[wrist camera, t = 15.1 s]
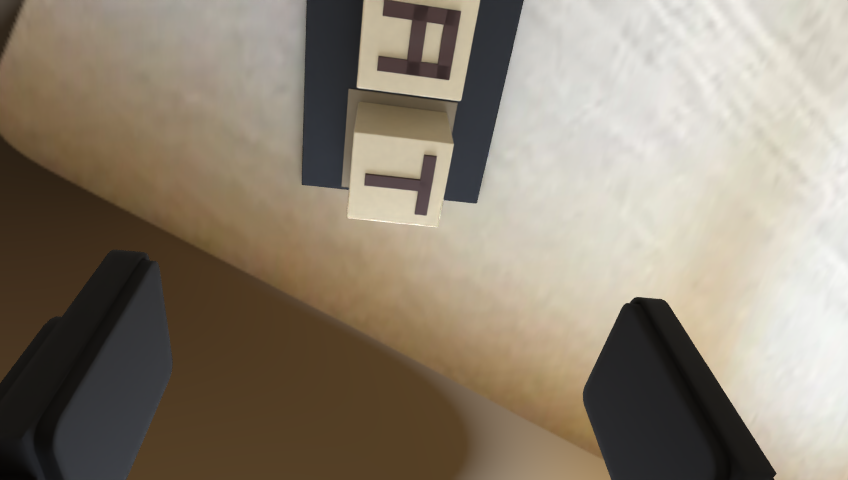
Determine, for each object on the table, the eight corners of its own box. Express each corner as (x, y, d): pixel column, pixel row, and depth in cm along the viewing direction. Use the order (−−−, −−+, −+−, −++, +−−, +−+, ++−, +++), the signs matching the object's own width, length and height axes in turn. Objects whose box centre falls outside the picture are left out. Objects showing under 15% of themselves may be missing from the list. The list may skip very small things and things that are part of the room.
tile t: (351, 181, 30) (346, 219, 27) (358, 101, 28) (353, 132, 24) (433, 189, 31) (438, 229, 27) (447, 112, 28) (454, 145, 25)
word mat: (302, 180, 31) (301, 185, 30) (315, -268, 20) (314, -272, 20) (475, 199, 32) (476, 204, 31) (570, -216, 22) (574, -218, 21)
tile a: (361, 62, 27) (356, 89, 23) (369, -42, 24) (365, -29, 21) (452, 74, 27) (461, 102, 24) (470, -26, 25) (483, -10, 21)
